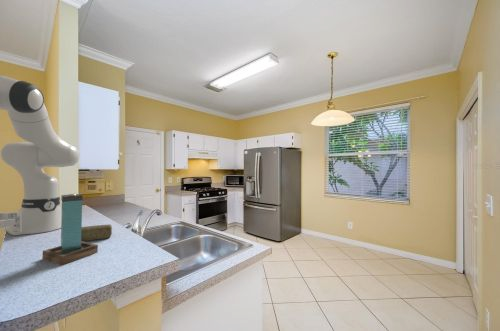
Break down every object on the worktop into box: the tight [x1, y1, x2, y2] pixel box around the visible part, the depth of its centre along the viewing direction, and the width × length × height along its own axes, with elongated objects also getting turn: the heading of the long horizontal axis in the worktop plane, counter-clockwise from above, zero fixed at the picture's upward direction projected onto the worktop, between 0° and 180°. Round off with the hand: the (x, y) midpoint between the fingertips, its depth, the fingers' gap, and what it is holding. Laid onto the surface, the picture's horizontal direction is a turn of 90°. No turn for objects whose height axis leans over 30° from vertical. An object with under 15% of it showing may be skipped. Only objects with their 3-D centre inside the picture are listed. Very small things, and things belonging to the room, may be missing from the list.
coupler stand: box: [42, 241, 99, 266], centre depth 68 cm, size 10×10×2 cm
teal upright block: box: [60, 193, 84, 254], centre depth 68 cm, size 5×5×18 cm
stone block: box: [81, 224, 113, 242], centre depth 84 cm, size 6×12×5 cm, turn 119°
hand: (16, 218), depth 59 cm, fingers open, 8 cm apart
